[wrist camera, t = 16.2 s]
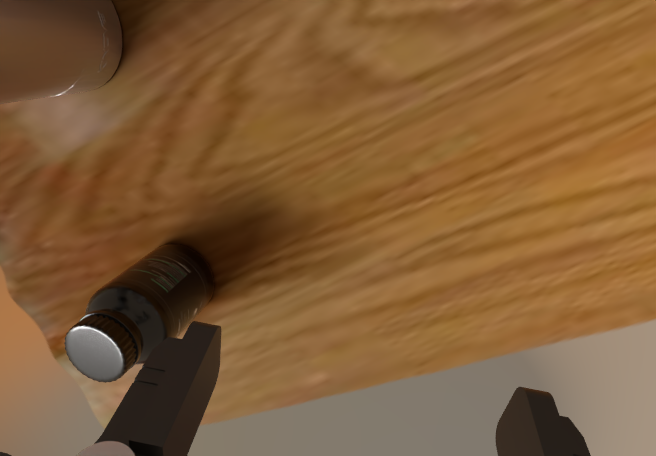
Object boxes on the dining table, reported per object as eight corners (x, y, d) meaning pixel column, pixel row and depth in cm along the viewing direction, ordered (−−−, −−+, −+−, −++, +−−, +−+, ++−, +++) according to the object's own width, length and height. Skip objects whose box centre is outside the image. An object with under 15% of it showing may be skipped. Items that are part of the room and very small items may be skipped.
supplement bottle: (199, 321, 45) (121, 411, 34) (138, 282, 45) (40, 359, 34) (228, 269, 42) (152, 349, 31) (163, 227, 42) (64, 293, 31)
